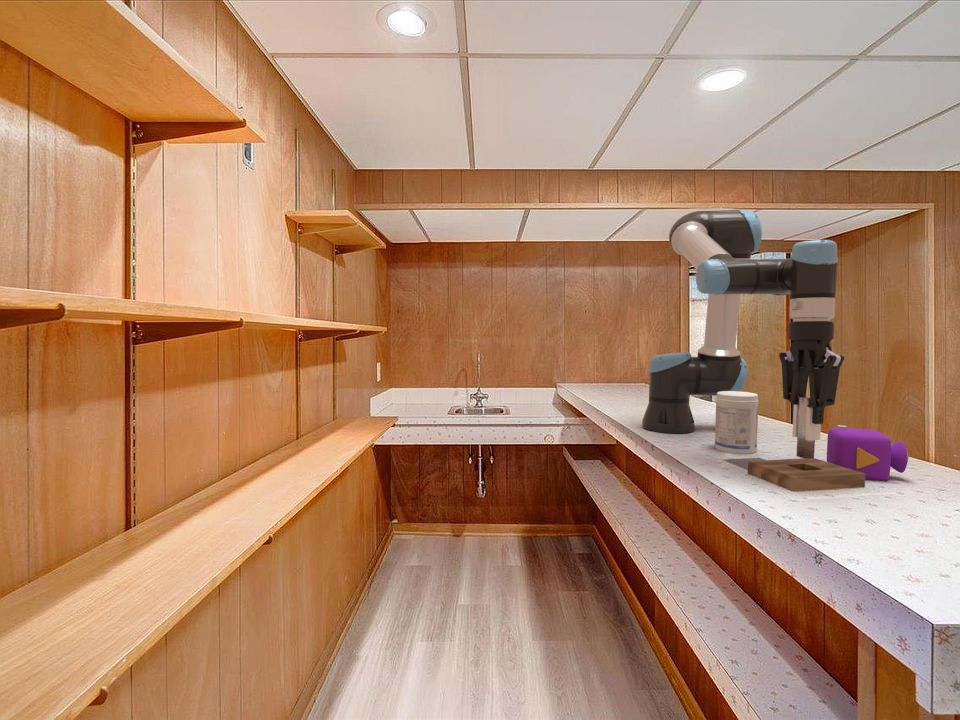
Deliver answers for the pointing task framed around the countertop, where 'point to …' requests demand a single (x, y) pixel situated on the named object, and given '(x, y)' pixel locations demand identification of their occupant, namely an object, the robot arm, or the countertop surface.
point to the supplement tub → (736, 422)
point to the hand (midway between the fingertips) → (806, 437)
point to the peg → (803, 431)
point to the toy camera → (865, 452)
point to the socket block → (806, 474)
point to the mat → (742, 461)
